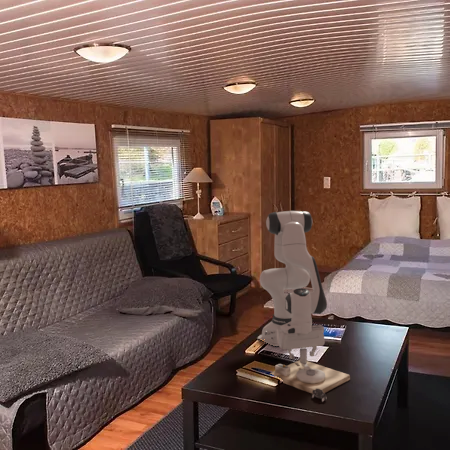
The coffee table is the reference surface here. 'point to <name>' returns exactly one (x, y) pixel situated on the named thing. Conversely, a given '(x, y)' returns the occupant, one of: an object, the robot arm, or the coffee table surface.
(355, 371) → the coffee table surface
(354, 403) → the coffee table surface
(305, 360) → the dial
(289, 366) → the stand board
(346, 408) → the coffee table surface
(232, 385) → the coffee table surface
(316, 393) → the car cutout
